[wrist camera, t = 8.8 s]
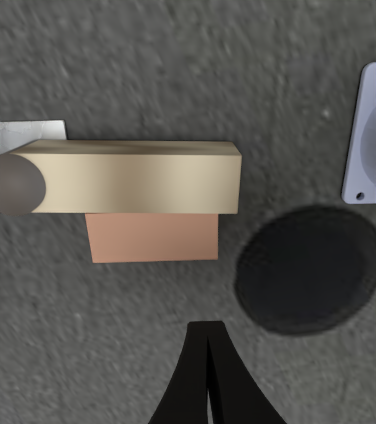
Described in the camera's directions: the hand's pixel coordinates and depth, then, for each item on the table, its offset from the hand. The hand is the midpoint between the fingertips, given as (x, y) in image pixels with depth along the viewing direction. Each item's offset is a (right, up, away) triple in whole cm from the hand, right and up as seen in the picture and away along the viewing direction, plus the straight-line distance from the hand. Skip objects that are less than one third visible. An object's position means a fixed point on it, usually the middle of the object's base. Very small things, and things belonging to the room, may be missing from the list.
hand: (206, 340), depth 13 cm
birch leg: (-4, +8, +6) cm, 11 cm away
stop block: (-3, +5, +8) cm, 10 cm away
